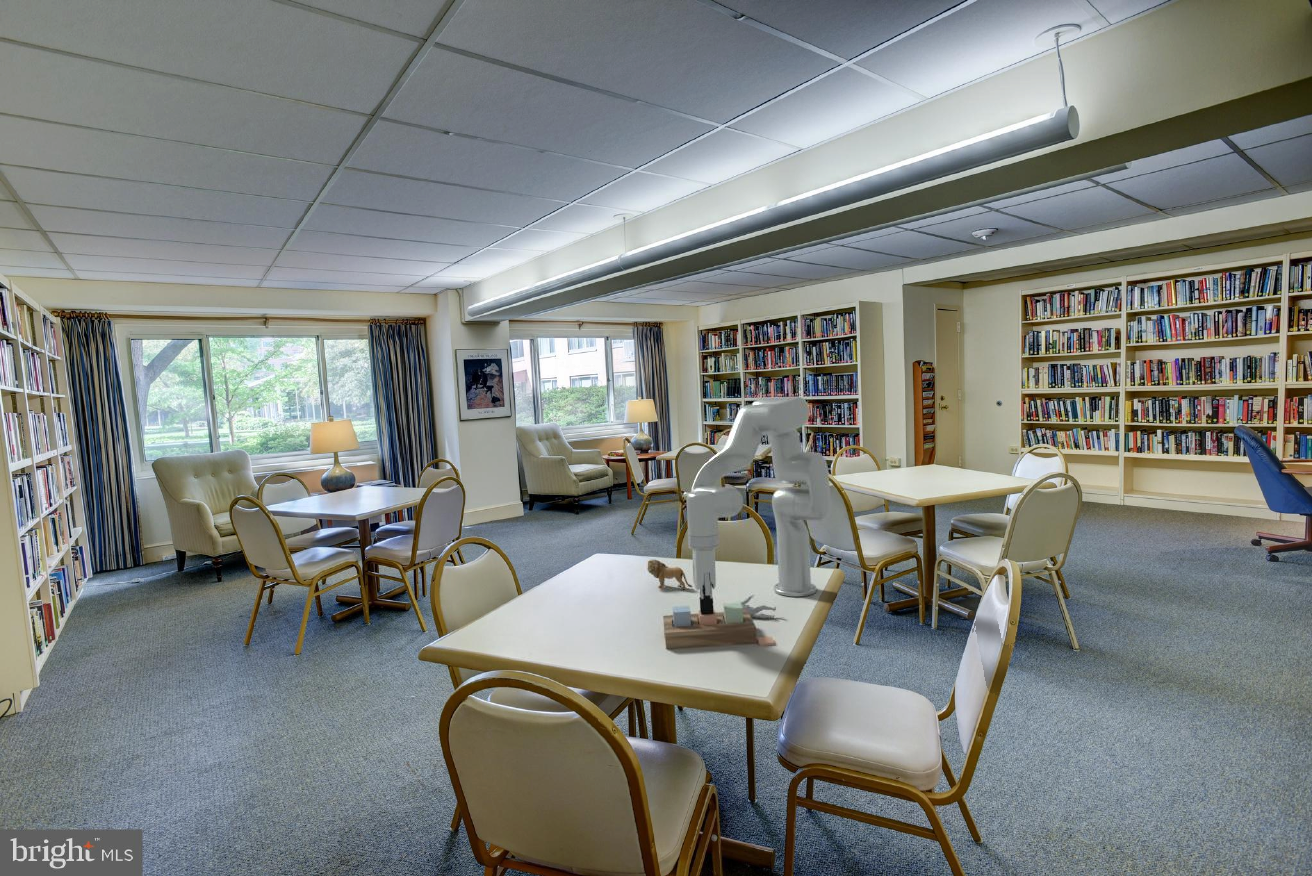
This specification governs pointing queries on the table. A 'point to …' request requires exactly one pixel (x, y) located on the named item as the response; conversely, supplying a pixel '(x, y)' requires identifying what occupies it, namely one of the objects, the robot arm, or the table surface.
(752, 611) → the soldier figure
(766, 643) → the tile
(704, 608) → the robot arm
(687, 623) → the light blue block
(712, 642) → the board
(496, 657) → the table surface
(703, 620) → the salmon pink rectangular block
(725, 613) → the mint green block
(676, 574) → the lion figurine
